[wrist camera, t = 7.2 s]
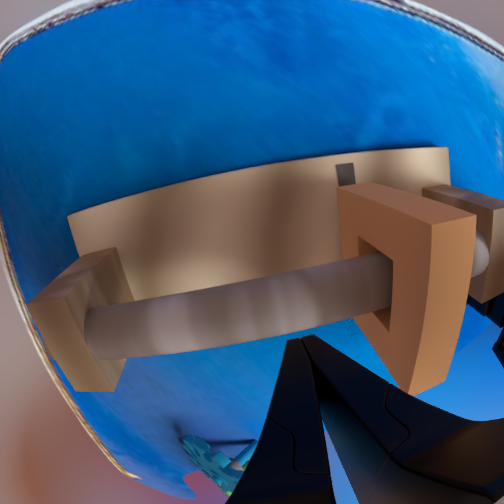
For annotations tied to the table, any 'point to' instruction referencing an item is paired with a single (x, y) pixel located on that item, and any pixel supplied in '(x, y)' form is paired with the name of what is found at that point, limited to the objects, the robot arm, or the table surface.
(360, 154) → the pipe rig
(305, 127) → the table surface
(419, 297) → the collar
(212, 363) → the table surface
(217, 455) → the gear
